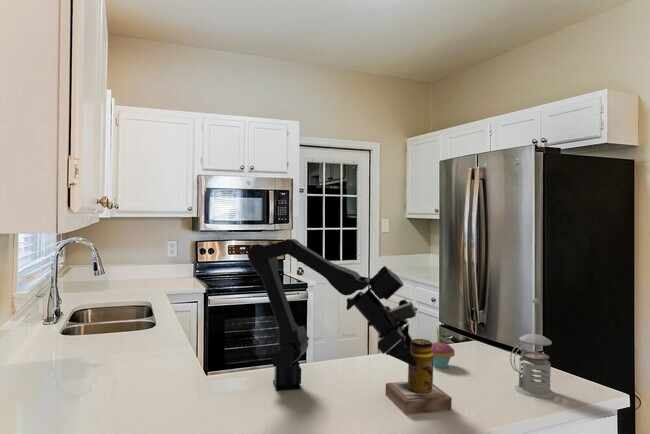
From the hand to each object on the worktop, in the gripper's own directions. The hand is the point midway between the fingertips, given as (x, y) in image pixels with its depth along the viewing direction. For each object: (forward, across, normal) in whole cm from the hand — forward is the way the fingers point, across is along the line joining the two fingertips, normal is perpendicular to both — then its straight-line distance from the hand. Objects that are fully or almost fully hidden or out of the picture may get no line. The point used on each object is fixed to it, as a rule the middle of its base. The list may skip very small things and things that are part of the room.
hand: (416, 359), depth 113 cm
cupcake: (+12, +32, +4) cm, 34 cm away
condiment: (+6, 0, +5) cm, 8 cm away
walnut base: (+8, 0, +7) cm, 11 cm away
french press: (+28, +17, -14) cm, 36 cm away
